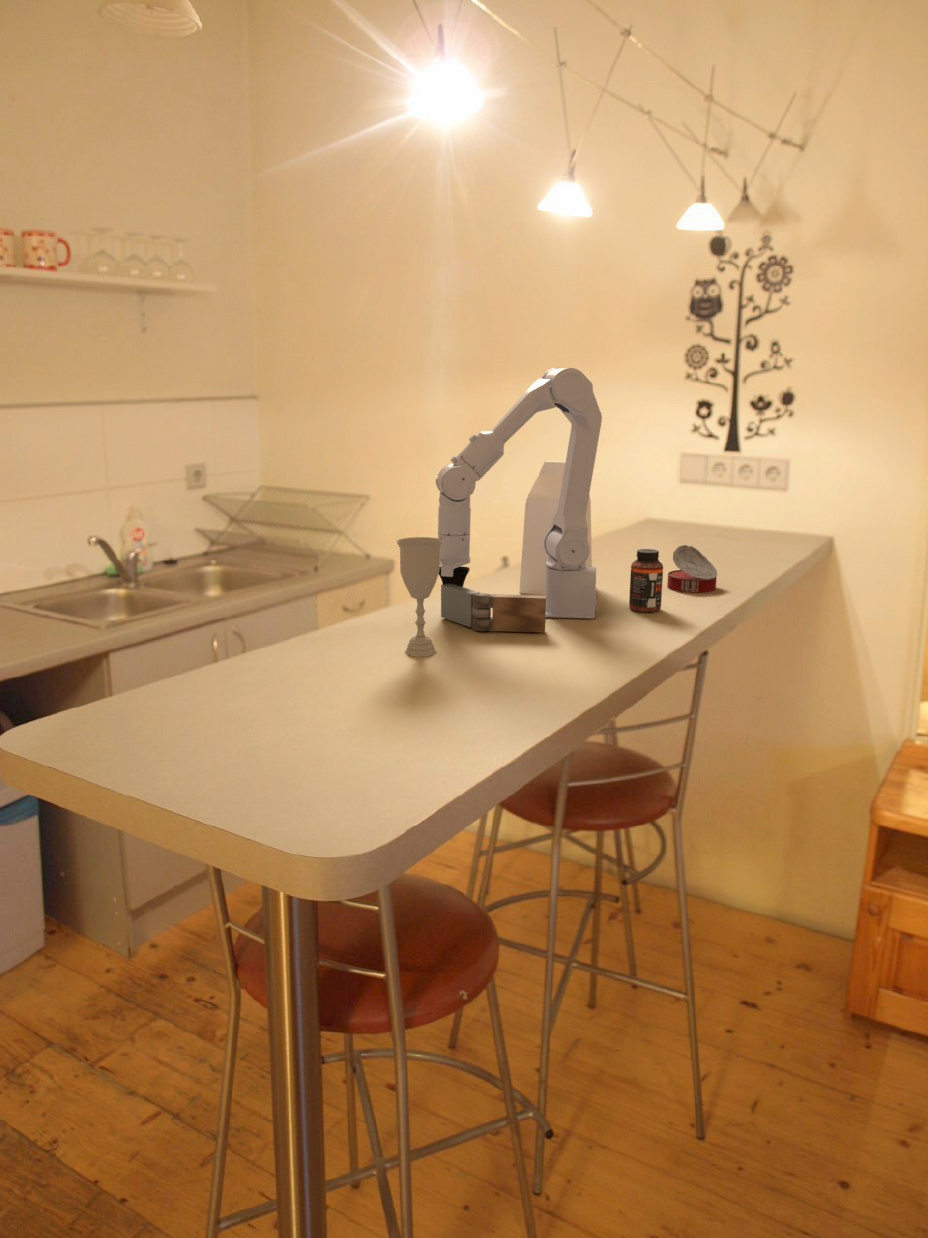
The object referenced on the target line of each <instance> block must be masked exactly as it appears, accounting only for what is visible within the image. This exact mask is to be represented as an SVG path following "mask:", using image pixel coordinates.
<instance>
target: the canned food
mask: <svg viewBox="0 0 928 1238" xmlns="http://www.w3.org/2000/svg"><path fill="white" fill-rule="evenodd" d="M672 561H673V563H674V565H675V566H676V567H677V568H678V570H671V571H668V573H667V582H666V583H667V585H666V587H667V589H668V590H671V591H673V592H677V593H683V594H709V593H713V592H715V591H717V590H716V589H717V576H718V571H717V569H716V567H715V566H714V565H713V563H712V562H711V561H709V559H708V558H707V557H706V556H705V555H703V554H702V553H701V552H700V551H699V549H697V548H696V547H694V546H692V545H686V544H685V545H684V544H683V545H680V546H677V548H675V550H674V551H673V554H672Z"/></svg>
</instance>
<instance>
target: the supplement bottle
mask: <svg viewBox="0 0 928 1238" xmlns="http://www.w3.org/2000/svg"><path fill="white" fill-rule="evenodd" d="M659 552H660V551H659V550H657V549H655V548H653V549H651V548H641V549H637V551H636V559H635V560H634V561H632V563H631V566H630V578H629V579H630V581H629V596H628V597H629V600H628V601H629V602H628V604H629V609H630V610H632V611H634V612H639V613H656V612H658V611H660V610H661V608H662V602H663V601H662V597H663V579H664V578H663V577H664V565H663V562H660V559H659V557H660V554H659Z"/></svg>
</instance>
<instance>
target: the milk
mask: <svg viewBox="0 0 928 1238" xmlns="http://www.w3.org/2000/svg"><path fill="white" fill-rule="evenodd" d="M565 463H566V461H560V460H559V461H558V460H557V461H553V460H546V461H545V460H544V462H543V464H542V466H541V469H540V470H539V473H538V475H537V476H536V478H535V481H534V483H533V485H532V486H531V489H530V490H529V493H528V494H527V497H526V500H525V505H524V518H523V534H522V550H521V562H520V563H521V564H520V577H519V594H523V595H539V596H545V591H546V562H547V561H548V559H549V555H548V554H547V553H546V551H545V548H544V539H545V536H546V534H547V533H548V532H549V530H550V528H551V526H552V520H553V518H554V516H555V515H556V513H557V511H558V506H559V499H560V493H561V487H562V481H563V475H564V469H565ZM591 503H592V499H591V496H590V494H589V499H588V505H587V510H586V521H587V526H588V534H587V540H588V544H589V547H590V553H589V557H588V559H587V560H586V562H585V563H586V567H593V562H592V561H593V560H592V559H593V557H592V556H593V554H592V553H593V551H592V506H591V505H592V504H591Z"/></svg>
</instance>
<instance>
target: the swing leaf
mask: <svg viewBox="0 0 928 1238" xmlns="http://www.w3.org/2000/svg"><path fill="white" fill-rule="evenodd" d="M477 593H481V592H480V591H476V590H474V589H471V588H467V587H464V586H463V587H461V586H457V585H454V584H443V583H442V584H440V618H443V619H445V620H448V621H451V622H454V623H457V624H458V625H462V626H465V627H468V628H473V617H476V618H489V617H492V615H491V614H492V611H491V609H492V608H485V609H480V608H474V607H473V595H474V594H477Z"/></svg>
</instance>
